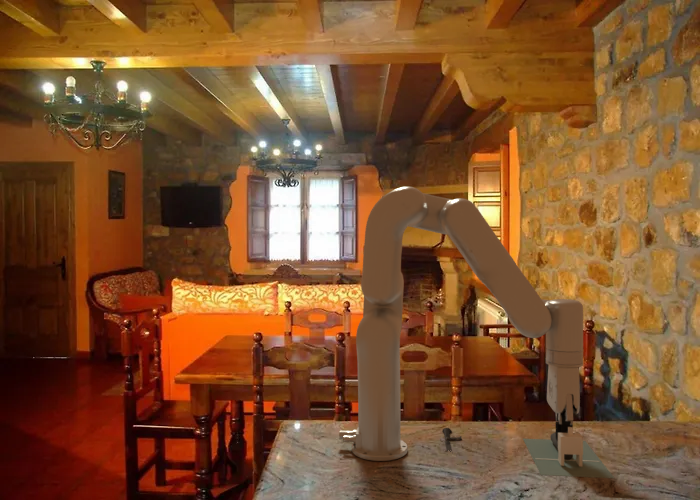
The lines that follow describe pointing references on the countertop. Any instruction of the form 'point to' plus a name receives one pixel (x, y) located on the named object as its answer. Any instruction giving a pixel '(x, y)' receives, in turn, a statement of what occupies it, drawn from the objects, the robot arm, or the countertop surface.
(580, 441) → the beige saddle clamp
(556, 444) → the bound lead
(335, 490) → the countertop surface
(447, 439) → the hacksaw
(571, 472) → the cutting mat
